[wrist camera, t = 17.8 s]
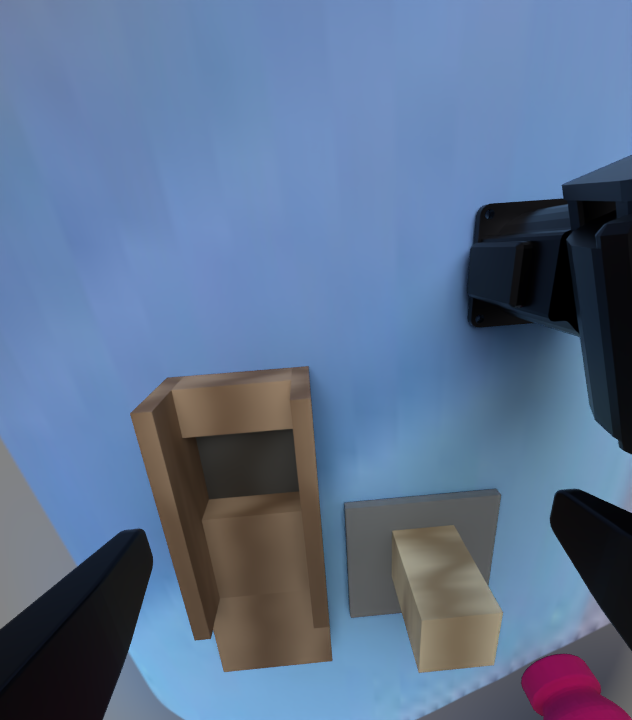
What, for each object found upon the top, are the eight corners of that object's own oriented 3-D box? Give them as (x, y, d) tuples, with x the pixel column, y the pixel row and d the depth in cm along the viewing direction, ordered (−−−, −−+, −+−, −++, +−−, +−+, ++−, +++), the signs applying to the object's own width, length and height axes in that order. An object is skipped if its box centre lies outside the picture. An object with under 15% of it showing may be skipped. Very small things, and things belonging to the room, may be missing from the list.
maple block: (453, 525, 24) (503, 612, 18) (449, 570, 25) (493, 664, 19) (392, 530, 23) (421, 620, 18) (391, 576, 25) (418, 672, 19)
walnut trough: (308, 366, 20) (310, 398, 15) (330, 632, 27) (335, 702, 23) (167, 377, 20) (130, 413, 15) (229, 642, 27) (216, 715, 23)
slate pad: (496, 488, 23) (501, 494, 23) (481, 596, 27) (485, 604, 26) (344, 502, 23) (345, 509, 23) (349, 609, 27) (350, 617, 26)
